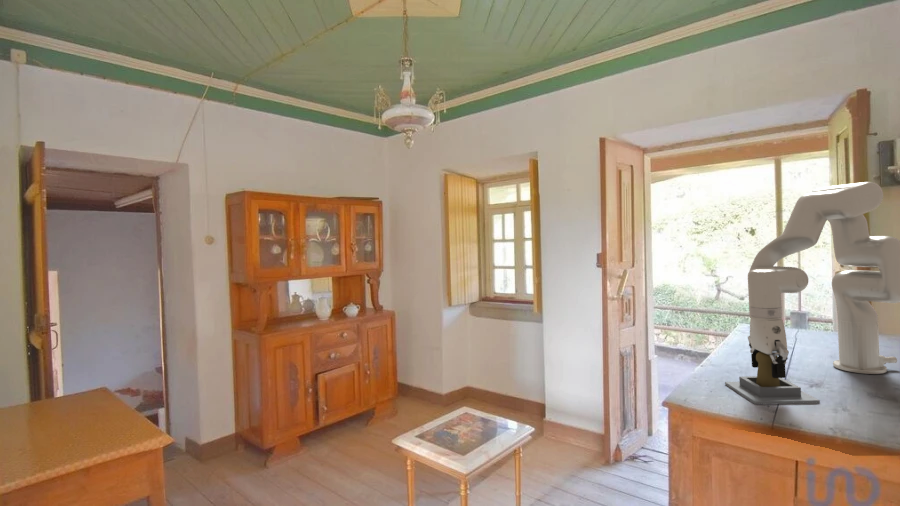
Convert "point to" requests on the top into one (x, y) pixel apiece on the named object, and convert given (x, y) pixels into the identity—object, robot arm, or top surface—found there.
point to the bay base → (771, 392)
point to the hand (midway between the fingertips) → (768, 372)
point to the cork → (765, 371)
